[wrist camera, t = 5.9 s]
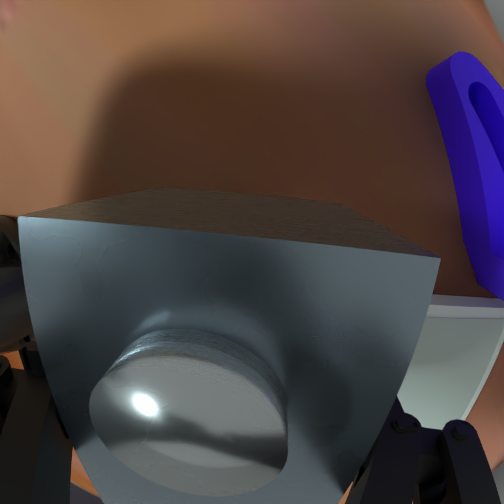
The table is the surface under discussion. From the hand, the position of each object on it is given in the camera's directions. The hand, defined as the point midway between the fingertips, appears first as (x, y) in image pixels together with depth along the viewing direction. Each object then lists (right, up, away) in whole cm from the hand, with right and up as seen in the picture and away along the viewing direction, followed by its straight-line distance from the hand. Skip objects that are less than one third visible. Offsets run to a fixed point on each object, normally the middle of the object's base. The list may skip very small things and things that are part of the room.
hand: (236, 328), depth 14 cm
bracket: (+20, +11, +6) cm, 24 cm away
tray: (+16, -10, +11) cm, 22 cm away
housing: (0, 0, +1) cm, 1 cm away
